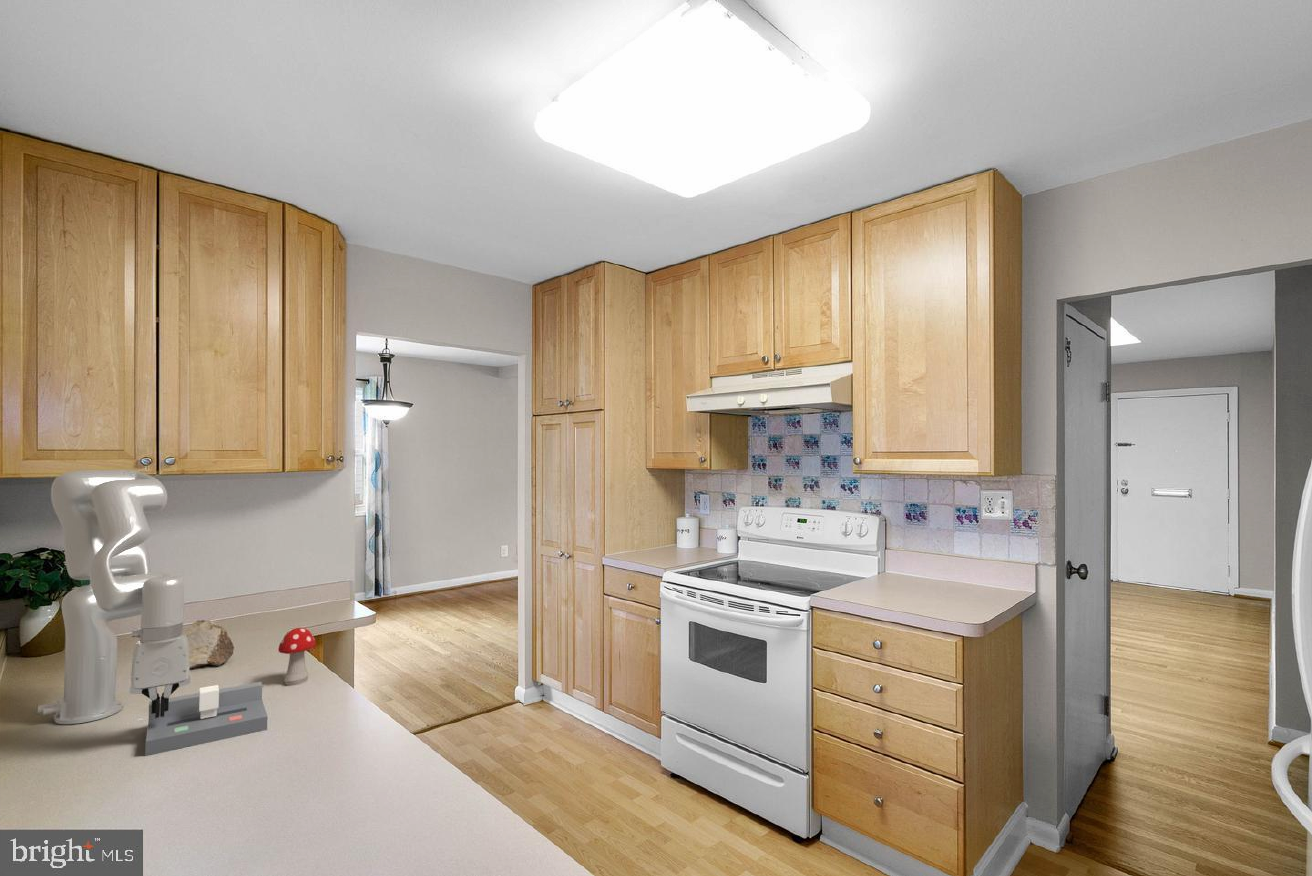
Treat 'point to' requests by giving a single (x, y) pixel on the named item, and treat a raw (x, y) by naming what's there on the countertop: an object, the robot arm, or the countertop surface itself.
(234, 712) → the panel
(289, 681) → the decorative mushroom
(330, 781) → the countertop surface
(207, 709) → the knob
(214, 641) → the rock
